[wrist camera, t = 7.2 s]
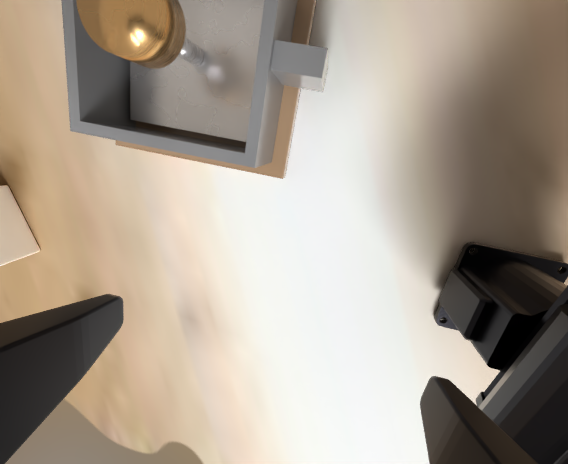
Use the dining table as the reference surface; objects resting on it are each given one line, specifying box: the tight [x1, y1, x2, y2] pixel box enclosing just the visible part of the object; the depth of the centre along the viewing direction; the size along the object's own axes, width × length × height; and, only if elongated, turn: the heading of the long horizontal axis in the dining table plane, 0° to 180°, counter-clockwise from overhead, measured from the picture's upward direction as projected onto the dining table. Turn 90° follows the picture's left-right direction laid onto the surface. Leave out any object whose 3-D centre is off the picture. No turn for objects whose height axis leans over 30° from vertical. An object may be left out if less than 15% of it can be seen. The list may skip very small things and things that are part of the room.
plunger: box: [76, 0, 264, 142], centre depth 13 cm, size 8×8×7 cm
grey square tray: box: [62, 0, 328, 179], centre depth 15 cm, size 14×12×6 cm
